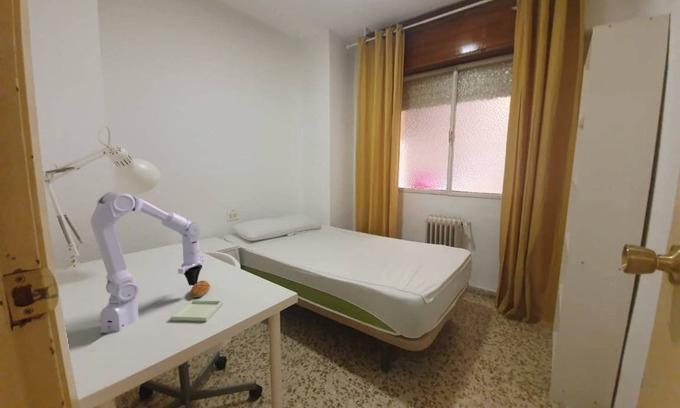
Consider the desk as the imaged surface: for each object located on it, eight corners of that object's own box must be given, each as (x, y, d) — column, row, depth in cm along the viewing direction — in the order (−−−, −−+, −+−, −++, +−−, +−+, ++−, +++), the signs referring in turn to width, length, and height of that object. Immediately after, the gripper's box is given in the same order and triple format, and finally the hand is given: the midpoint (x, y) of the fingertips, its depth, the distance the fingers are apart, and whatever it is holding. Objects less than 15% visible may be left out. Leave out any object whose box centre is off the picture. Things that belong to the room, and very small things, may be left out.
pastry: (206, 298, 104) (205, 289, 104) (187, 299, 102) (186, 290, 102) (211, 287, 113) (210, 279, 113) (193, 288, 111) (193, 280, 111)
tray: (206, 321, 88) (206, 317, 88) (171, 320, 88) (171, 316, 88) (223, 304, 100) (222, 300, 100) (192, 303, 100) (191, 299, 100)
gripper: (190, 257, 97) (192, 292, 98) (210, 246, 111) (211, 277, 113) (171, 257, 97) (173, 292, 99) (194, 246, 111) (195, 277, 113)
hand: (192, 284), depth 106 cm, fingers closed
